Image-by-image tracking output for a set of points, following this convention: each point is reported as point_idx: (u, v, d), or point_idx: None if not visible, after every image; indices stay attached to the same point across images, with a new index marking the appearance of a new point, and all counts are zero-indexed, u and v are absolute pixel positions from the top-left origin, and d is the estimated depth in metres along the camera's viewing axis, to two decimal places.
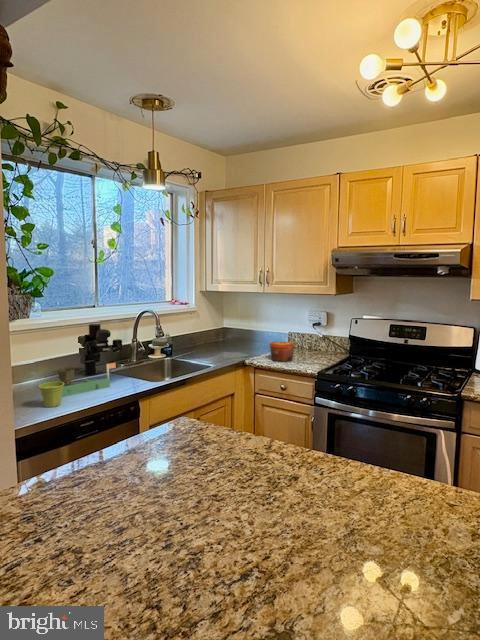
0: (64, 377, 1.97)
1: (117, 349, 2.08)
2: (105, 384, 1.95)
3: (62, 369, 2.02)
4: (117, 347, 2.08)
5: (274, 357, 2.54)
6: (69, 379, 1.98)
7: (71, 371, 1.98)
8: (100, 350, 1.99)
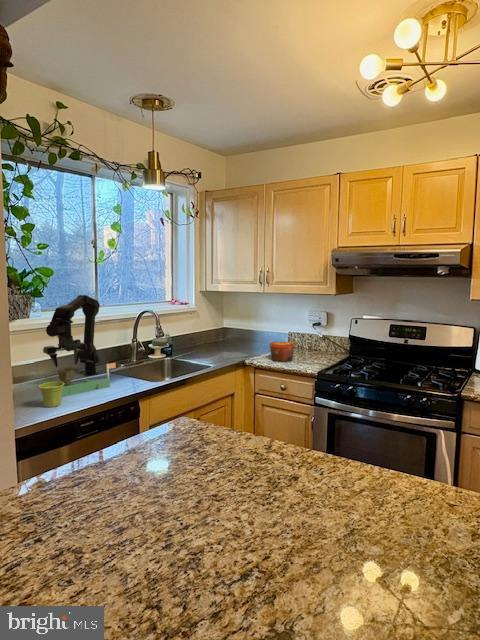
0: (64, 377, 1.97)
1: (74, 357, 2.03)
2: (105, 384, 1.95)
3: (62, 369, 2.02)
4: (75, 357, 2.02)
5: (274, 357, 2.54)
6: (69, 379, 1.98)
7: (71, 371, 1.98)
8: (55, 364, 1.96)
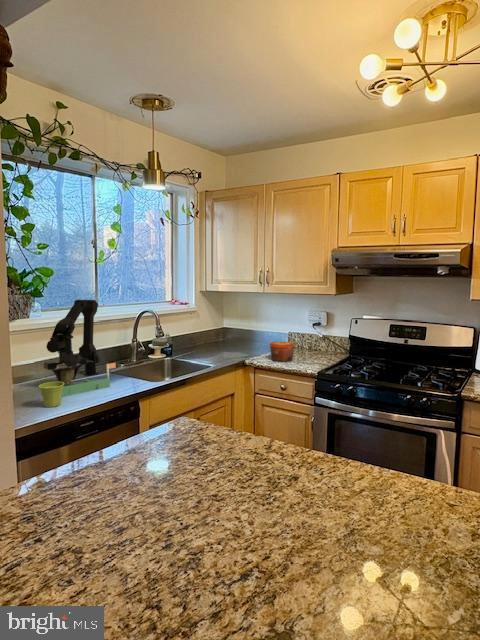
0: (64, 377, 1.97)
1: None
2: (105, 384, 1.95)
3: (62, 369, 2.02)
4: None
5: (274, 357, 2.54)
6: (69, 379, 1.98)
7: (71, 371, 1.98)
8: (58, 379, 1.97)
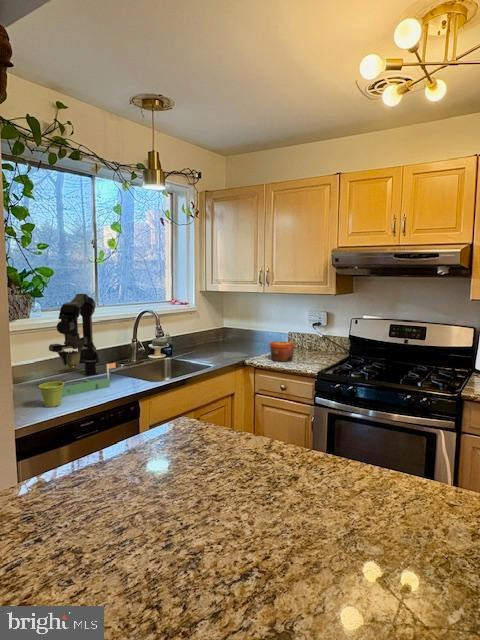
0: (70, 360, 1.89)
1: None
2: (105, 384, 1.95)
3: (68, 352, 1.95)
4: None
5: (274, 357, 2.54)
6: (75, 362, 1.91)
7: (77, 354, 1.91)
8: (63, 362, 1.90)
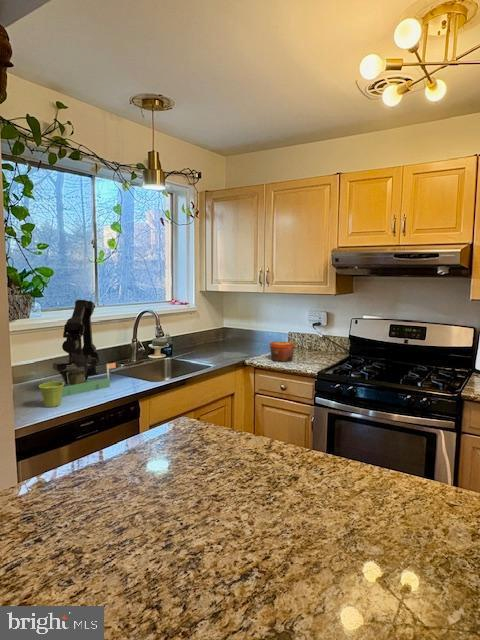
0: (74, 381, 1.89)
1: (85, 373, 1.96)
2: (105, 384, 1.95)
3: (72, 373, 1.94)
4: (86, 373, 1.95)
5: (274, 357, 2.54)
6: (79, 383, 1.90)
7: (81, 375, 1.90)
8: (65, 381, 1.88)
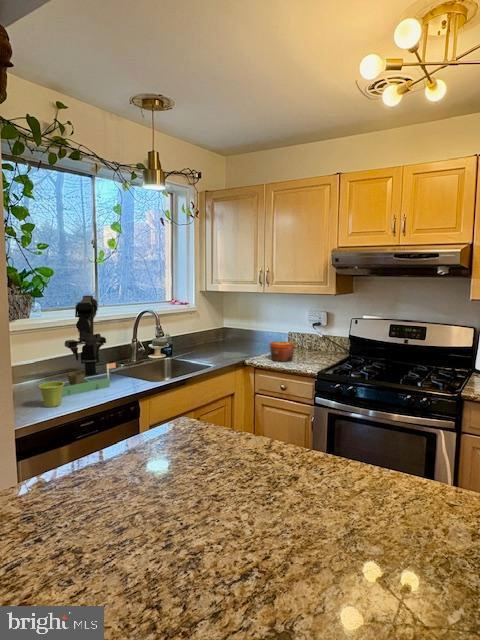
0: (74, 381, 1.89)
1: (94, 351, 2.08)
2: (105, 384, 1.95)
3: (72, 373, 1.94)
4: (95, 351, 2.08)
5: (274, 357, 2.54)
6: (79, 383, 1.90)
7: (81, 375, 1.90)
8: (76, 358, 2.01)
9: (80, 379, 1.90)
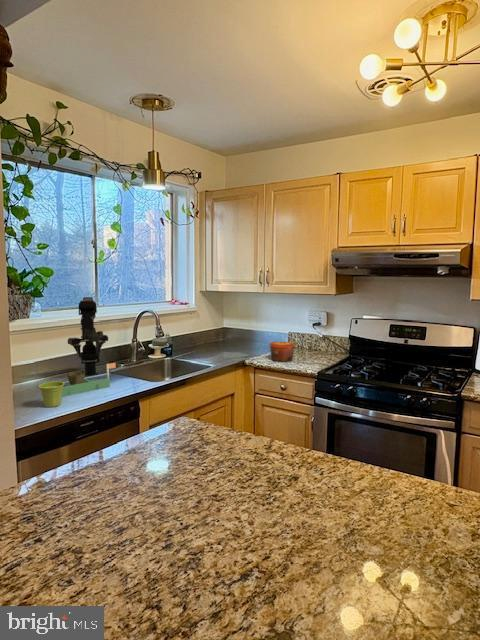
0: (74, 381, 1.89)
1: (96, 348, 2.12)
2: (105, 384, 1.95)
3: (72, 373, 1.94)
4: (97, 349, 2.11)
5: (274, 357, 2.54)
6: (79, 383, 1.90)
7: (81, 375, 1.90)
8: (78, 355, 2.04)
9: (80, 379, 1.90)
